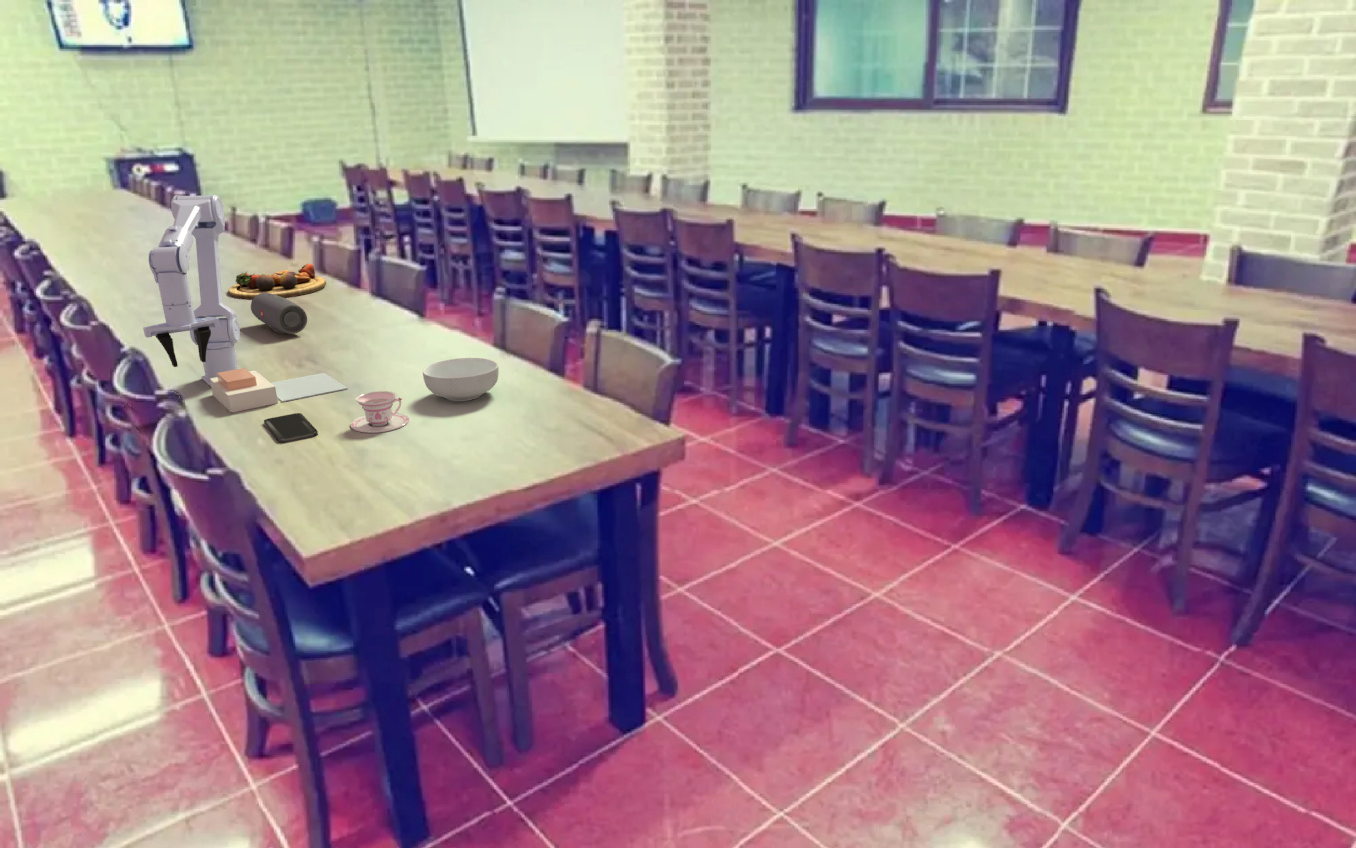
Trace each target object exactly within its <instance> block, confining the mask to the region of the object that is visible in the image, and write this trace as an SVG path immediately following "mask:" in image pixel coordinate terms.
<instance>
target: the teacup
mask: <svg viewBox="0 0 1356 848" xmlns="http://www.w3.org/2000/svg"><path fill="white" fill-rule="evenodd" d="M397 397H398V394H397V393H396V392H393V391H387V390H385V391H383V390H379V391H371V392H366V393H362V394H360V395H357V396H356V397H355V399H354V400H355V401H356V402H357V403H358V404H359V406H361V409H362V410H363V411H364V413H365V414H364V415H362V416H358V417H357V418H355V419H354V420H352V421H351V422H350V424H349V426H350V427H351V429H352V430H353V431H356V432H359V433H365V434H366V433H369V434H371V433H372V434H375V433H377V434H378V433H385V432H386V433H387V432H390V431H394V430H398V429H400V428H402V427H404V426H406V425H407V424H408V423H409V421H410V417H408V415H406V414H404V413H402V412H401V413H400V412H398V411H399V410H400V409H401V405H402V400H403V399H402V398H401V397H398V398H397ZM395 402H398V406H397V408H396V409H395V411H393V410H392V407H393V405H394V403H395ZM389 421H390V422H391V423H390V424H388V423H389ZM370 424H371V426H370Z"/></svg>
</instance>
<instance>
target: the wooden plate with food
mask: <svg viewBox="0 0 1356 848" xmlns="http://www.w3.org/2000/svg"><path fill="white" fill-rule="evenodd" d="M297 271H298V272H294V271H290V270H287V269H282V270H279V271H277V272H274V273H273V274H265V273H262V274H255V273H253V274H250V273H248V271H245V272H241V273H240V274H237V275H236V276H235V278H236V279H235V282H234V283H236V284H234V285H232V286H231V287H229V288H228V290H227V293H228V295H229V296H230V297H232V298H235V299H242V300H253V298H254V297H255V296H256V295H258V294H260V293H271V294H274V295H277V296H280V297H283V298H285V299H286V298H291V297H297V296H302V295H307V294H310V293H313V292H317V291H319V290H323V288H325V287H326V285H327V281H326V279H325V278H323V277H322V276H316V269H315V266H314V265H313V264H312V263H306V264H304V265H303V266H301V268H300V269H298V270H297Z"/></svg>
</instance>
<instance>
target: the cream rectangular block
mask: <svg viewBox="0 0 1356 848" xmlns="http://www.w3.org/2000/svg"><path fill="white" fill-rule="evenodd" d="M249 372H250V373H251V374H252V375H254V376H255V377H256V383H257V385H256V386H251V387H246V388H240V389H235V390H230V391H229V390H227V389H226V388H225V387H224V386H223V385H222V384H221V383H220V382H219V381H218V377H215V378H210V383H211V387H210V388H211V392H212V396H213V395H214V396H215V397H214V396H213V397H214V398H215V399H216V400H217V401H219V402H220V404H221V405H222V406H223V407H225V408H226V410H228V411H229V412H230V413H231V412H232V413H236V412H241V411H247V410H251V409H256V408H262V407H266V405H267V406H271V405H277V404H279V399H278V398H277V394H276V388H275V386H274V385H273V384H272V382H270V380H268V379H266V378H265V377H264V376H263V375H262V374H260V373H259V372H258V371H256V370H250V371H249Z"/></svg>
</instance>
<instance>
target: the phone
mask: <svg viewBox="0 0 1356 848" xmlns="http://www.w3.org/2000/svg"><path fill="white" fill-rule="evenodd" d="M263 423H264V426H265V427H266V429H267V430H268V431H269V432H270V434H271V435H272V434H273V435H272V436H273V437H274V438H275V440H276V442H278V443H279V444H285V443H290V442H291V443H292V442H295V441H300V440H305V439H310V438H311V439H312V438H314V437H318V436H319V433H318V432H319V431H318V430H317V429H316V427H315V426H314V425H313V424H312V423H311V422H310V421H309V420H308V419H307V417H305V416H304V415H303V414H302V413H299V412H296V413H295V412H294V413H290V414H286V415H285V414H284V415H281V416H274V417H270V418H265V419H264V420H263Z"/></svg>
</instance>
